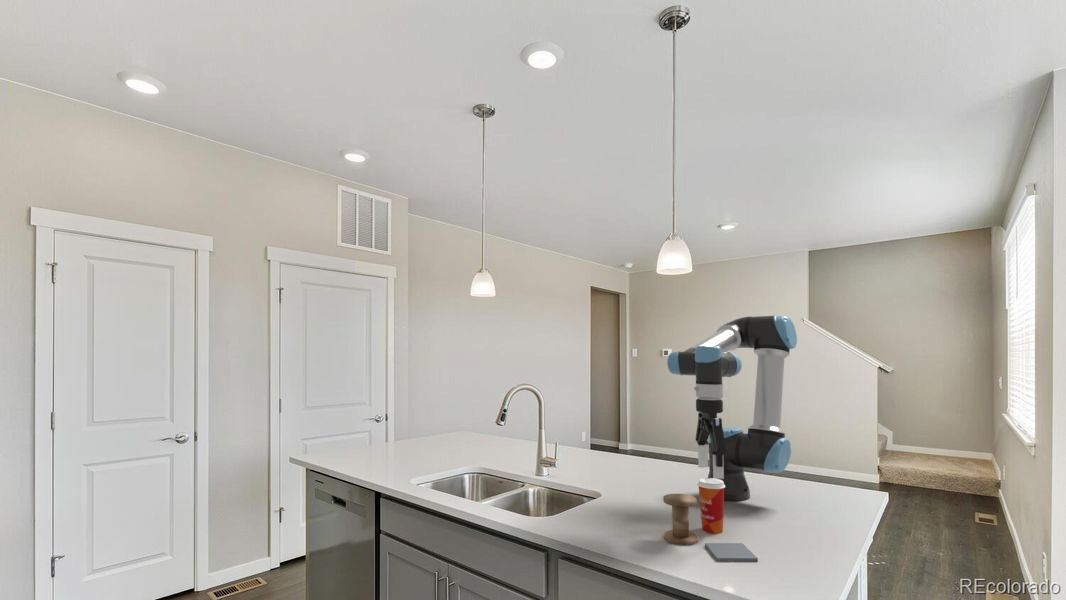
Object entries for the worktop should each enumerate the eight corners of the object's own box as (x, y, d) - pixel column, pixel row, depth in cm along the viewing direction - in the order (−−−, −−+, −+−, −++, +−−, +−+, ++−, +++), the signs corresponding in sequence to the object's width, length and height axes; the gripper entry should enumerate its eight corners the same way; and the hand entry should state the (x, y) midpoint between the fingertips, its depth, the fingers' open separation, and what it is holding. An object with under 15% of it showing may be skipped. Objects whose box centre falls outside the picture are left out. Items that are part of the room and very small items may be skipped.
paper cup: (694, 526, 159) (693, 477, 160) (719, 525, 159) (718, 477, 160) (705, 535, 151) (703, 484, 152) (731, 534, 151) (730, 484, 153)
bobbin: (692, 533, 153) (691, 493, 153) (702, 545, 144) (701, 503, 144) (660, 533, 153) (660, 493, 153) (668, 545, 144) (667, 503, 144)
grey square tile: (742, 546, 143) (742, 543, 143) (757, 561, 133) (757, 558, 133) (704, 546, 143) (704, 543, 143) (717, 561, 133) (717, 558, 133)
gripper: (684, 394, 170) (685, 463, 169) (710, 402, 145) (711, 483, 144) (708, 394, 170) (709, 463, 168) (737, 403, 145) (739, 483, 144)
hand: (710, 472), depth 156 cm, fingers open, 13 cm apart
